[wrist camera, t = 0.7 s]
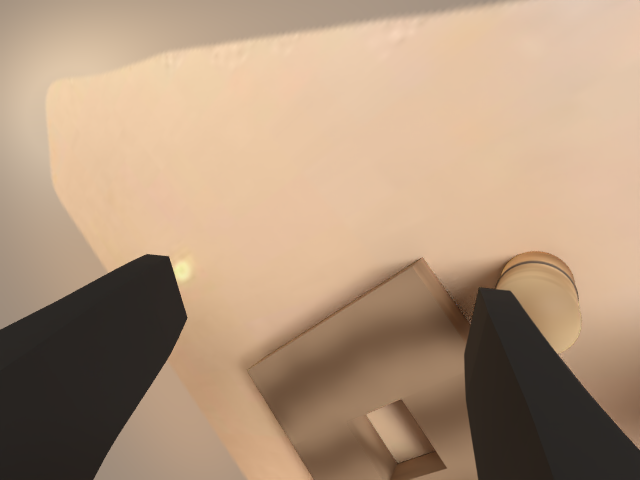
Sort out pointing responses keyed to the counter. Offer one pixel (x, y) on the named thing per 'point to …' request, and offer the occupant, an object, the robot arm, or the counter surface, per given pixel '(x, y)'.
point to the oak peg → (545, 295)
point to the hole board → (376, 383)
